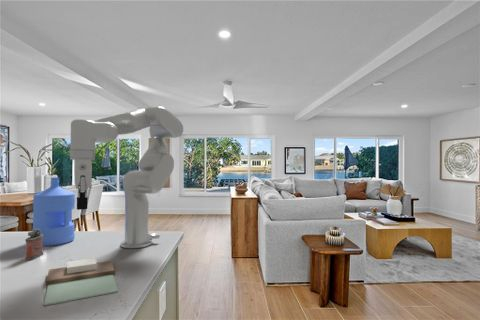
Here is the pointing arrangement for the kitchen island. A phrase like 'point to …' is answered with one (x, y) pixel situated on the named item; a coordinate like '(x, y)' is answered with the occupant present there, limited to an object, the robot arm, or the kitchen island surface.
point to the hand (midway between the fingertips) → (82, 208)
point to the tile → (81, 265)
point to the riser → (79, 273)
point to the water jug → (54, 214)
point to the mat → (80, 289)
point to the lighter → (34, 245)
